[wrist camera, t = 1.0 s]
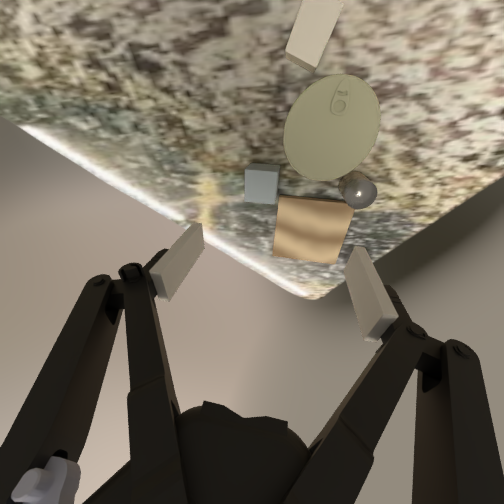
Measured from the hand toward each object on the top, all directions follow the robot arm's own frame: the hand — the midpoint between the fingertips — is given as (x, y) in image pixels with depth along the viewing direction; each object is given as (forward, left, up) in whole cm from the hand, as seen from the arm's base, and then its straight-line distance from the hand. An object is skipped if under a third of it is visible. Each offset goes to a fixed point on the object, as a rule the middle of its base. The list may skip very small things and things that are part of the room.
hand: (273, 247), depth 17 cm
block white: (-17, +1, -21) cm, 27 cm away
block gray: (0, -4, -21) cm, 21 cm away
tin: (0, +11, -21) cm, 24 cm away
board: (+9, +6, -21) cm, 24 cm away
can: (-8, +4, -21) cm, 23 cm away
